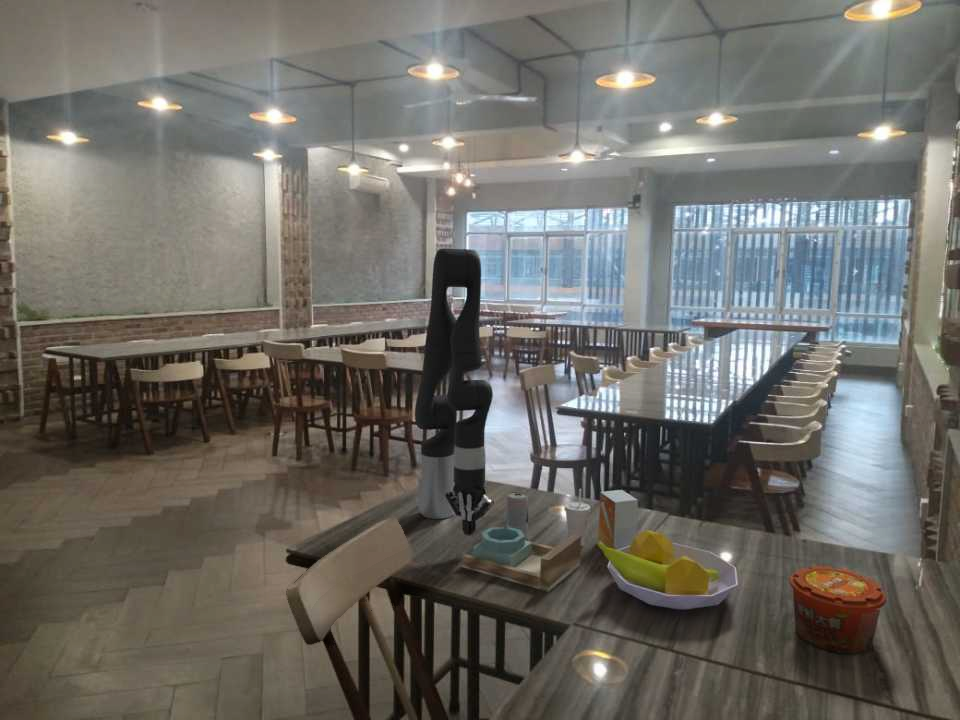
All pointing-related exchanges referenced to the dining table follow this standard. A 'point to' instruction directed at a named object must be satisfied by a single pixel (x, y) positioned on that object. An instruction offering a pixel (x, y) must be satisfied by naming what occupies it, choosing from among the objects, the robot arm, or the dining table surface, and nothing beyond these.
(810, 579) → the food container
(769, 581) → the dining table surface
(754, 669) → the dining table surface
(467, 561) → the wooden tray
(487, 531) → the tray
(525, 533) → the energy drink
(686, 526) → the dining table surface
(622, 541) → the small box
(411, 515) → the dining table surface
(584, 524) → the smoothie
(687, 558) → the fruit bowl
